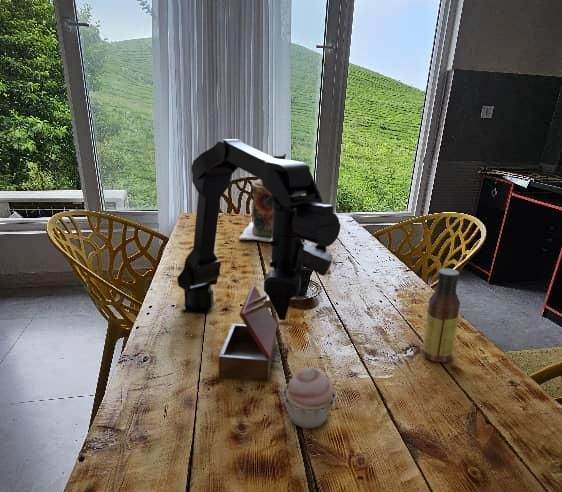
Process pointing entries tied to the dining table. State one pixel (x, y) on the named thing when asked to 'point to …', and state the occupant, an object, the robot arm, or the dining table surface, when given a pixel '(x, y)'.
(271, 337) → the cover
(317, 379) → the cupcake
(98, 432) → the dining table surface
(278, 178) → the robot arm
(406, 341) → the dining table surface
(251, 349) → the hinged lid chest
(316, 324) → the dining table surface
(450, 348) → the sauce bottle
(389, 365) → the dining table surface
